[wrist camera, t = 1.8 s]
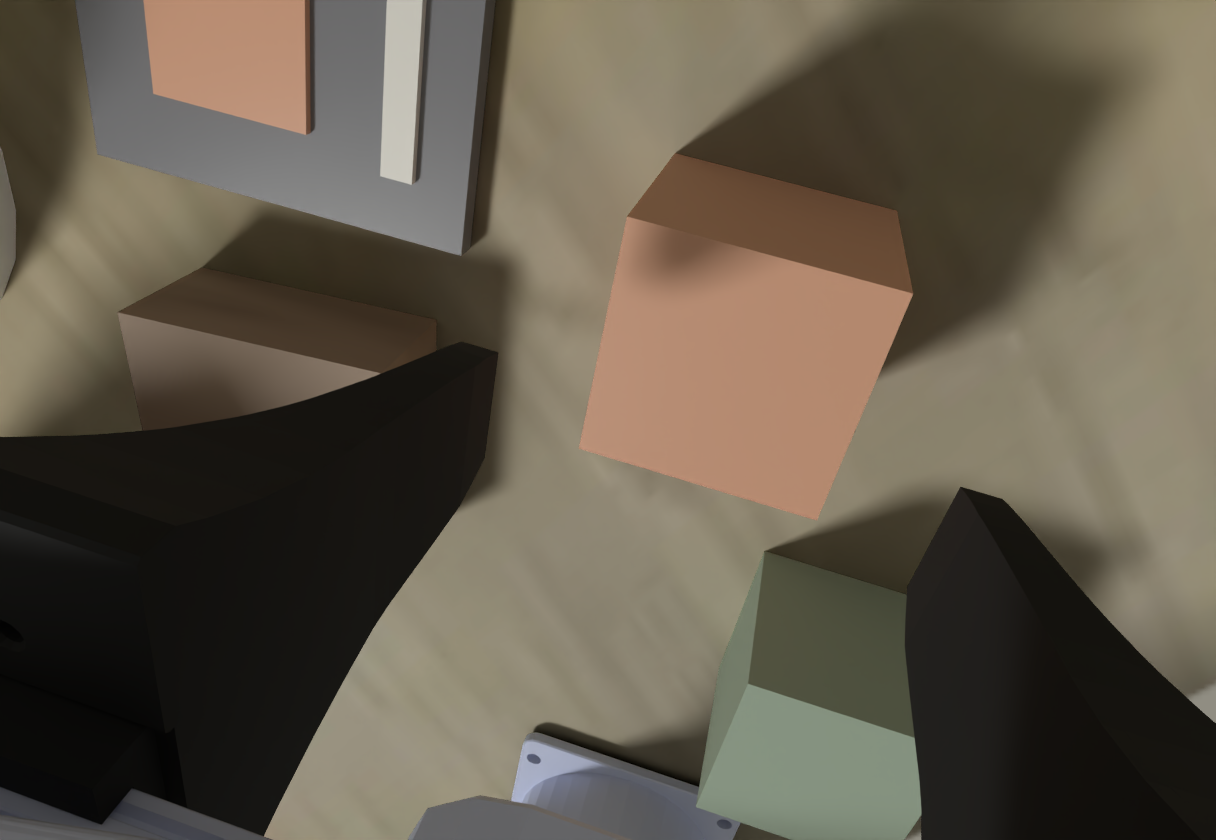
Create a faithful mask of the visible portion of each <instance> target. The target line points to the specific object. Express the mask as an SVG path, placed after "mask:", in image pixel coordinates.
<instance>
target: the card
mask: <svg viewBox="0 0 1216 840" xmlns="http://www.w3.org/2000/svg"><path fill="white" fill-rule="evenodd" d="M495 1H496V0H75V4H76V11H77V18H78V24H79V31H80V38H81V45H82V52H83V58H84V65H85V72H86V79H87V86H88V92H89V99H90V106H91V113H92V120H93V127H94V133H95V140H96V147H97V154H98V155H102V156H105V157H109V158H112V159H116V160H120V161H123V162H127V163H130V164H134V165H138V166H141V167H145V168H148V169H152V170H155V171H159V172H163V173H166V174H170V175H173V176H177V177H180V178H184V179H188V180H191V181H195V182H198V183H202V184H206V185H209V186H213V187H216V188H220V189H223V190H227V191H231V192H234V193H238V194H241V195H245V196H248V197H252V198H256V199H259V200H263V201H266V202H270V203H273V204H277V205H281V206H284V207H288V208H291V209H295V210H299V211H302V212H306V213H309V214H313V215H316V216H320V217H324V218H327V219H331V220H334V221H338V222H341V223H345V224H349V225H352V226H356V227H359V228H363V229H367V230H370V231H374V232H377V233H381V234H384V235H388V236H392V237H395V238H399V239H402V240H406V241H409V242H413V243H417V244H420V245H424V246H427V247H431V248H434V249H438V250H442V251H445V252H449V253H452V254H456V255H460V256H462V255H463V254H464V253H465V252H466V251H467V250H469V249H470V246H471V236H472V226H473V216H474V206H475V197H476V187H477V177H478V167H479V158H480V148H481V138H482V128H483V119H484V109H485V99H486V89H487V80H488V70H489V60H490V50H491V40H492V31H493V21H494V11H495Z"/></svg>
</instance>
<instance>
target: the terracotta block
mask: <svg viewBox="0 0 1216 840" xmlns="http://www.w3.org/2000/svg"><path fill="white" fill-rule="evenodd" d="M912 296H913V290H912V285H911V280H910V275H909V269H908V264H907V259H906V254H905V249H904V244H903V239H902V234H901V229H900V224H899V218H898V213H897V211H896V210H892V209H888V208H884V207H881V206H877V205H873V204H869V203H865V202H861V201H858V200H854V199H850V198H846V197H842V196H838V195H834V194H831V193H827V192H823V191H819V190H815V189H811V188H807V187H804V186H800V185H796V184H792V183H788V182H784V181H780V180H777V179H773V178H769V177H765V176H761V175H757V174H754V173H750V172H746V171H742V170H738V169H734V168H730V167H727V166H723V165H719V164H715V163H711V162H707V161H703V160H700V159H696V158H692V157H688V156H684V155H680V154H677V153H675V154H674V155H673V157H672V158H671V159H670V161H669V162H668V163H667V165H666V166H665V167H664V169H663V170H662V171H661V172H660V174H659V175H658V176H657V178H656V179H655V180H654V182H653V183H652V184H651V186H650V187H649V188H648V190H647V191H646V192H645V194H644V195H643V196H642V198H641V199H640V200H639V201H638V203H637V204H636V205H635V207H634V208H633V209H632V211H631V212H630V213H629V215H628V216H627V219H626V224H625V229H624V234H623V238H622V243H621V248H620V253H619V258H618V263H617V267H616V272H615V277H614V282H613V287H612V291H611V296H610V301H609V306H608V311H607V315H606V320H605V325H604V330H603V335H602V340H601V344H600V349H599V354H598V359H597V364H596V368H595V373H594V378H593V383H592V388H591V392H590V397H589V402H588V407H587V412H586V416H585V421H584V426H583V431H582V436H581V441H580V445H579V449H582V450H585V451H589V452H592V453H595V454H599V455H602V456H605V457H609V458H612V459H615V460H619V461H622V462H625V463H628V464H632V465H635V466H638V467H642V468H645V469H648V470H652V471H655V472H658V473H662V474H665V475H668V476H671V477H675V478H678V479H681V480H685V481H688V482H691V483H695V484H698V485H701V486H705V487H708V488H711V489H714V490H718V491H721V492H724V493H728V494H731V495H734V496H738V497H741V498H744V499H748V500H751V501H754V502H758V503H761V504H764V505H767V506H771V507H774V508H777V509H781V510H784V511H787V512H791V513H794V514H797V515H801V516H804V517H807V518H810V519H814V520H817V519H818V517H819V514H820V512H821V510H822V507H823V505H824V502H825V500H826V498H827V495H828V493H829V491H830V488H831V486H832V484H833V481H834V479H835V477H836V474H837V472H838V470H839V467H840V465H841V462H842V460H843V458H844V455H845V453H846V451H847V448H848V446H849V444H850V441H851V439H852V437H853V434H854V432H855V430H856V427H857V425H858V423H859V420H860V418H861V415H862V413H863V411H864V408H865V406H866V404H867V401H868V399H869V397H870V394H871V392H872V390H873V387H874V385H875V383H876V380H877V378H878V375H879V373H880V371H881V368H882V366H883V364H884V361H885V359H886V357H887V354H888V352H889V350H890V347H891V345H892V343H893V340H894V338H895V336H896V333H897V331H898V328H899V326H900V324H901V321H902V319H903V317H904V314H905V312H906V310H907V307H908V305H909V303H910V300H911V298H912Z"/></svg>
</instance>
